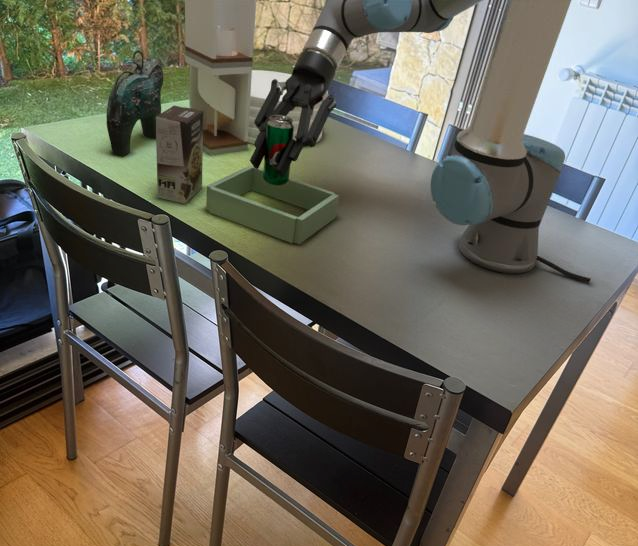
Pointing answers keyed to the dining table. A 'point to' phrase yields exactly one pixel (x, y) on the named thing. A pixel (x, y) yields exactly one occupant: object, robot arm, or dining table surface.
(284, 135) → the soda can
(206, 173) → the dining table surface
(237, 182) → the bin
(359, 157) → the dining table surface
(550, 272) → the dining table surface
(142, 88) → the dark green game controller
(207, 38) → the white tower
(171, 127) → the coffee box
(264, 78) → the plate stack
